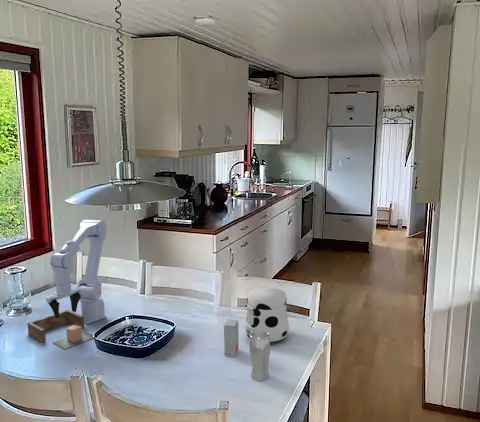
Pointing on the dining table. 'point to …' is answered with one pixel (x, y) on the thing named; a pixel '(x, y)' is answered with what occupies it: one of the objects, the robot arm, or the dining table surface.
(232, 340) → the skincare box
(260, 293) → the milk container
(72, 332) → the terracotta block
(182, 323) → the dining table surface
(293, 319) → the dining table surface
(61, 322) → the open box
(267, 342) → the beer glass
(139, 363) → the dining table surface
